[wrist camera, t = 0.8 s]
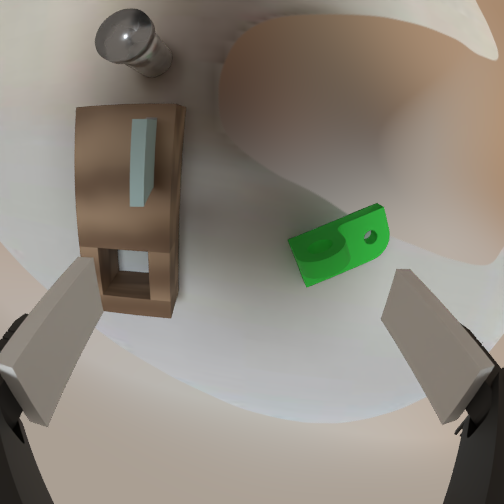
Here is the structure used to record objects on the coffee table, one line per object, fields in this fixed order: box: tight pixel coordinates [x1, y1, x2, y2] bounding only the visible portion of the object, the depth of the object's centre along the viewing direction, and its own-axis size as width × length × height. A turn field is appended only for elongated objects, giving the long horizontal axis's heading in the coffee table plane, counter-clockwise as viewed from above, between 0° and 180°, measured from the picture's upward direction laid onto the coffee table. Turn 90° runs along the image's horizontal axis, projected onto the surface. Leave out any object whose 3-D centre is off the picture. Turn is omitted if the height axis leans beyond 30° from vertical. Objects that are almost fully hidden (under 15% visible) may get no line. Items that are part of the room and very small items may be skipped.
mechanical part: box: [288, 203, 390, 287], centre depth 34 cm, size 12×6×8 cm, turn 112°
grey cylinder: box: [95, 9, 172, 77], centre depth 22 cm, size 5×5×10 cm
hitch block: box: [75, 104, 186, 318], centre depth 31 cm, size 22×10×6 cm, turn 174°
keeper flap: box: [130, 117, 157, 207], centre depth 22 cm, size 6×1×8 cm, turn 174°
